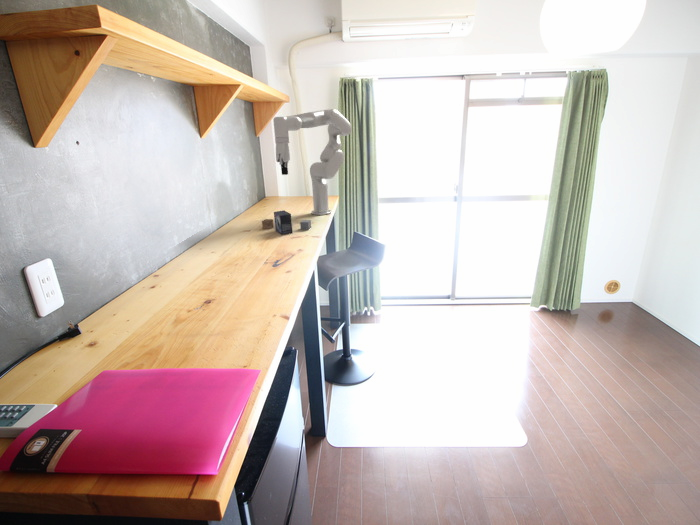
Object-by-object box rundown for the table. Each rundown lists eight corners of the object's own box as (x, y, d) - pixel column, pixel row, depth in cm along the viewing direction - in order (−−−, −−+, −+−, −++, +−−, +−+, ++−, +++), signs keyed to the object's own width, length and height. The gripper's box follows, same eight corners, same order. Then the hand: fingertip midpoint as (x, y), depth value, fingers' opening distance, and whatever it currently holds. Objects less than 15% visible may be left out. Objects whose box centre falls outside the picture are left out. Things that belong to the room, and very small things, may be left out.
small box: (274, 230, 199) (272, 211, 196) (286, 228, 202) (284, 210, 199) (281, 235, 191) (279, 215, 187) (293, 233, 194) (291, 213, 190)
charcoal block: (303, 227, 204) (302, 220, 202) (311, 228, 203) (310, 220, 201) (300, 230, 199) (300, 222, 198) (308, 230, 198) (308, 222, 197)
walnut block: (265, 227, 208) (265, 219, 206) (273, 227, 207) (272, 219, 205) (262, 229, 203) (261, 221, 202) (270, 229, 203) (269, 221, 201)
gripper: (280, 140, 212) (283, 172, 218) (270, 141, 198) (273, 176, 204) (293, 140, 210) (295, 172, 216) (283, 141, 196) (286, 176, 203)
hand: (285, 174), depth 210 cm, fingers closed
